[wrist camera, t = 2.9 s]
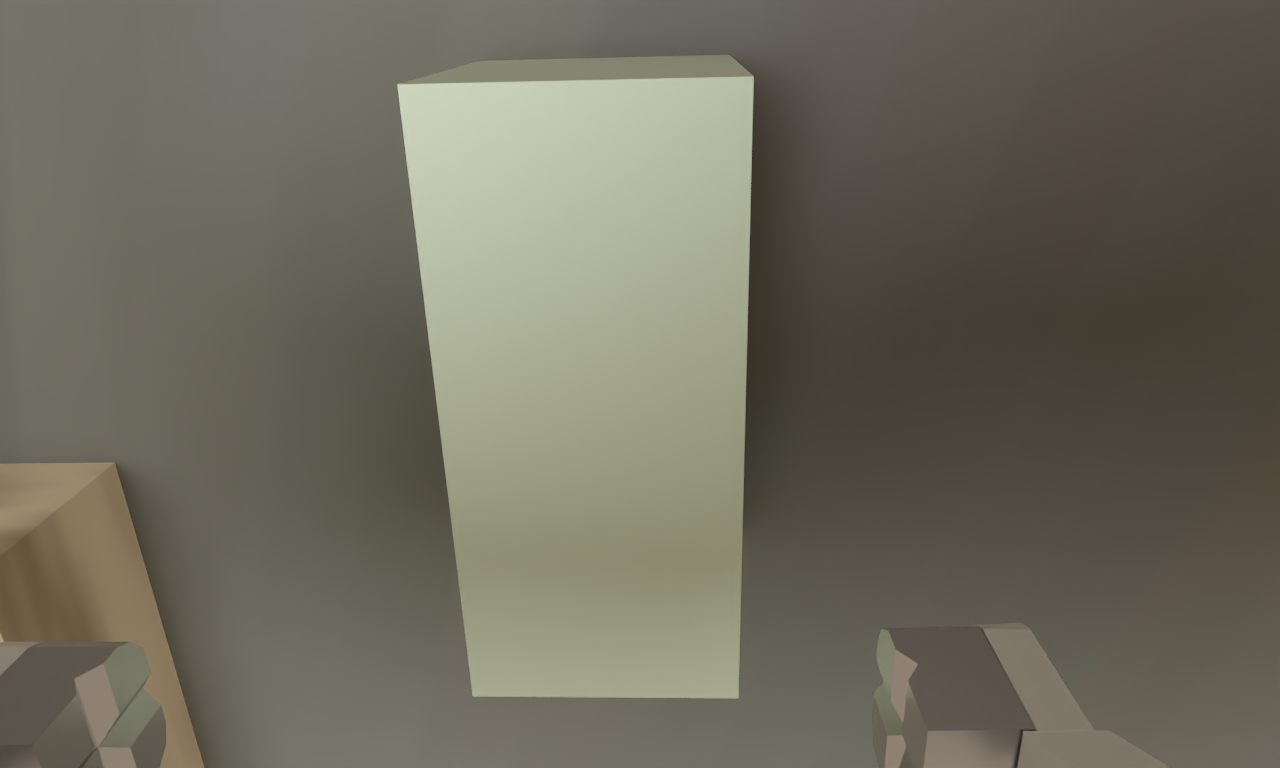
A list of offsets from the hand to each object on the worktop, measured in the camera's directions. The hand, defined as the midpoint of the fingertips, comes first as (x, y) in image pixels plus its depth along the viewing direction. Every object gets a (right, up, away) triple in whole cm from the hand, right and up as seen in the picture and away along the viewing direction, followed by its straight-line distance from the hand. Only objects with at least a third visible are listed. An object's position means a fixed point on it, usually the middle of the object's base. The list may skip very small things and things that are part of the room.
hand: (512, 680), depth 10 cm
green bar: (+1, +5, +10) cm, 11 cm away
